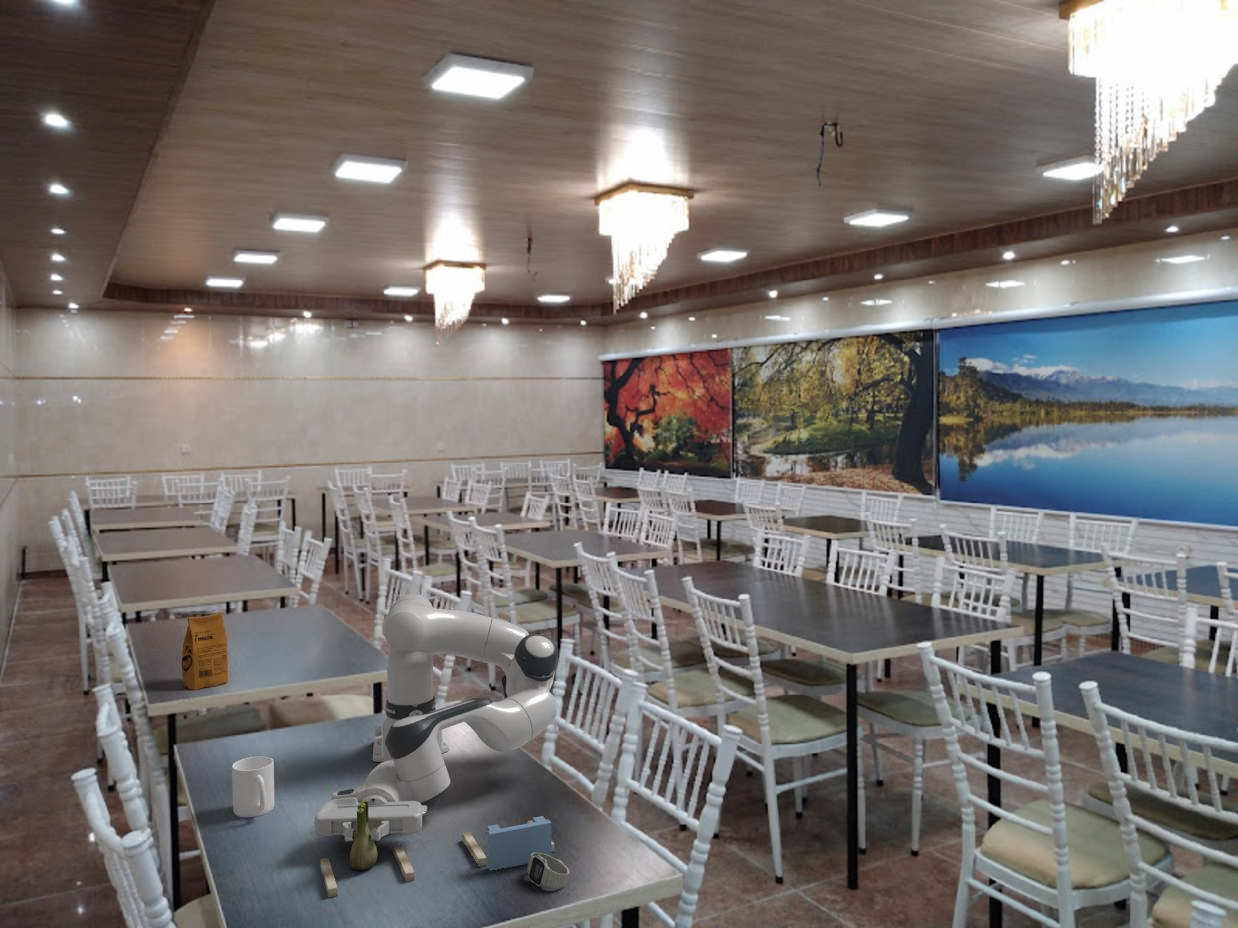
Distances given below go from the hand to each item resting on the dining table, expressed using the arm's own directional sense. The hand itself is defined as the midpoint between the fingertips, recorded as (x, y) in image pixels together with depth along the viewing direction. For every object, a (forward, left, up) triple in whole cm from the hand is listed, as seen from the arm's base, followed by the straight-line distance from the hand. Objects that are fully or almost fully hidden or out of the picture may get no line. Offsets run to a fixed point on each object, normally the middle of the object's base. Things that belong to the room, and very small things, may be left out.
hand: (361, 836), depth 177 cm
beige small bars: (+2, +14, -6) cm, 15 cm away
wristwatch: (+18, +30, -6) cm, 36 cm away
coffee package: (-143, -26, -6) cm, 145 cm away
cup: (-35, -17, -6) cm, 39 cm away
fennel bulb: (-1, 0, -6) cm, 6 cm away
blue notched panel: (+10, +27, -6) cm, 30 cm away
